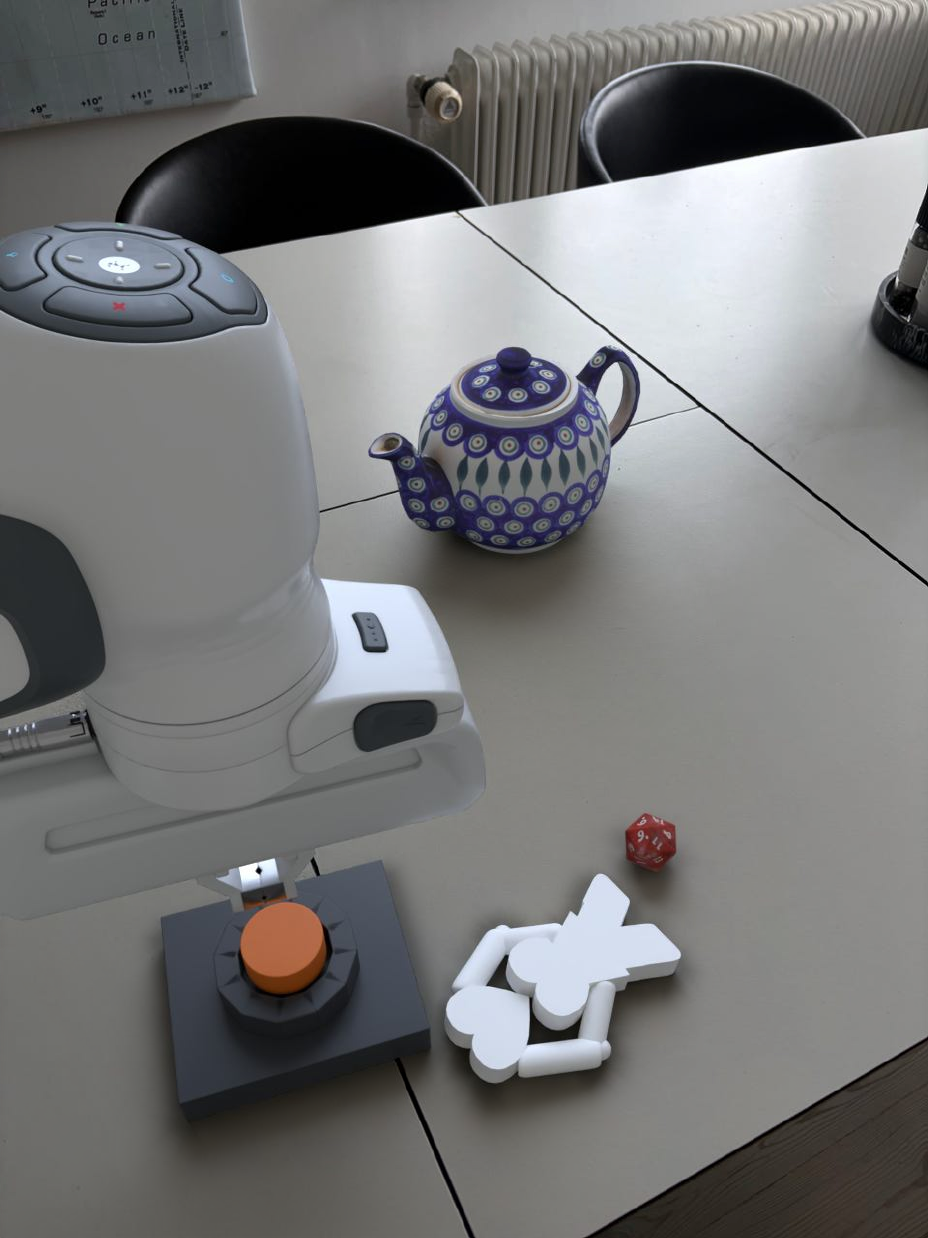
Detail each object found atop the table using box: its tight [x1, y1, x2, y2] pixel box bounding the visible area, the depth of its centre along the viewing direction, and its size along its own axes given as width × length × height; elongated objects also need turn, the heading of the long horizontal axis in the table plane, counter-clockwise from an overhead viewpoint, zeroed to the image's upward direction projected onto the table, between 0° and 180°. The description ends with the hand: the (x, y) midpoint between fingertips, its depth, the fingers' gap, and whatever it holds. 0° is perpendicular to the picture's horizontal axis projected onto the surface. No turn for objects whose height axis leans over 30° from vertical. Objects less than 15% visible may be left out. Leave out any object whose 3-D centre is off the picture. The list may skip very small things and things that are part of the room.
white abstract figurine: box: [443, 873, 682, 1084], centre depth 52 cm, size 9×12×2 cm
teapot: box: [367, 345, 641, 555], centre depth 77 cm, size 25×15×15 cm, turn 122°
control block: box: [160, 859, 432, 1123], centre depth 51 cm, size 12×10×4 cm
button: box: [240, 902, 326, 994], centre depth 49 cm, size 4×4×2 cm
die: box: [624, 812, 677, 873], centre depth 57 cm, size 3×3×3 cm
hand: (263, 892), depth 46 cm, fingers closed
